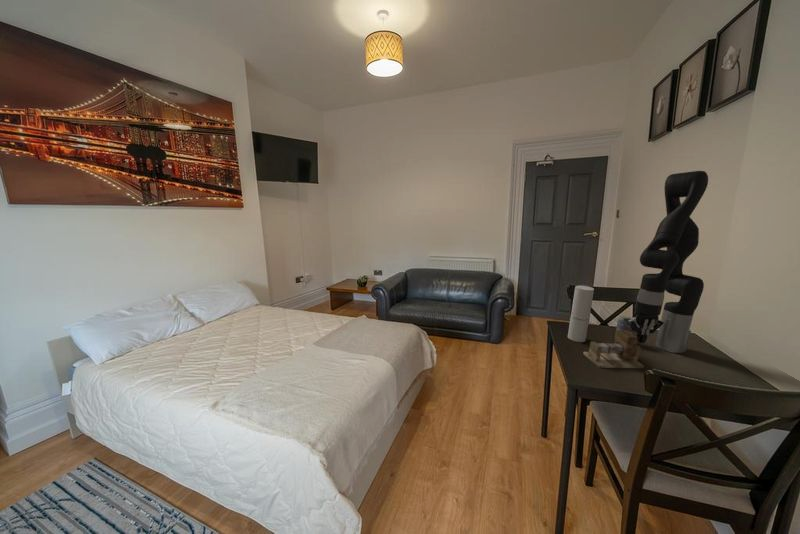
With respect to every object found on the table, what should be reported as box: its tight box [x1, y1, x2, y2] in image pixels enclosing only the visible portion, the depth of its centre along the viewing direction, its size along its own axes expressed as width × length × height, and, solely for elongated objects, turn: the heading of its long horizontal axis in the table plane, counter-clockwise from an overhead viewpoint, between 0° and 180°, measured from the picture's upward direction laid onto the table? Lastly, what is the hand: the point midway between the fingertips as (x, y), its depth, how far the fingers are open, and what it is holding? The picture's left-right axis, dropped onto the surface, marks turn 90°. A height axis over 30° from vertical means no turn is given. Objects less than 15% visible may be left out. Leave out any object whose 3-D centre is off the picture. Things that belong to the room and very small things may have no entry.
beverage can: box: [614, 315, 634, 338], centre depth 128 cm, size 6×7×12 cm
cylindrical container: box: [567, 285, 595, 343], centre depth 129 cm, size 7×7×25 cm
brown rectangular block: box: [613, 330, 638, 360], centre depth 112 cm, size 4×6×10 cm, turn 179°
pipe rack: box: [582, 341, 645, 369], centre depth 113 cm, size 17×10×7 cm, turn 89°
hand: (640, 342), depth 111 cm, fingers closed
